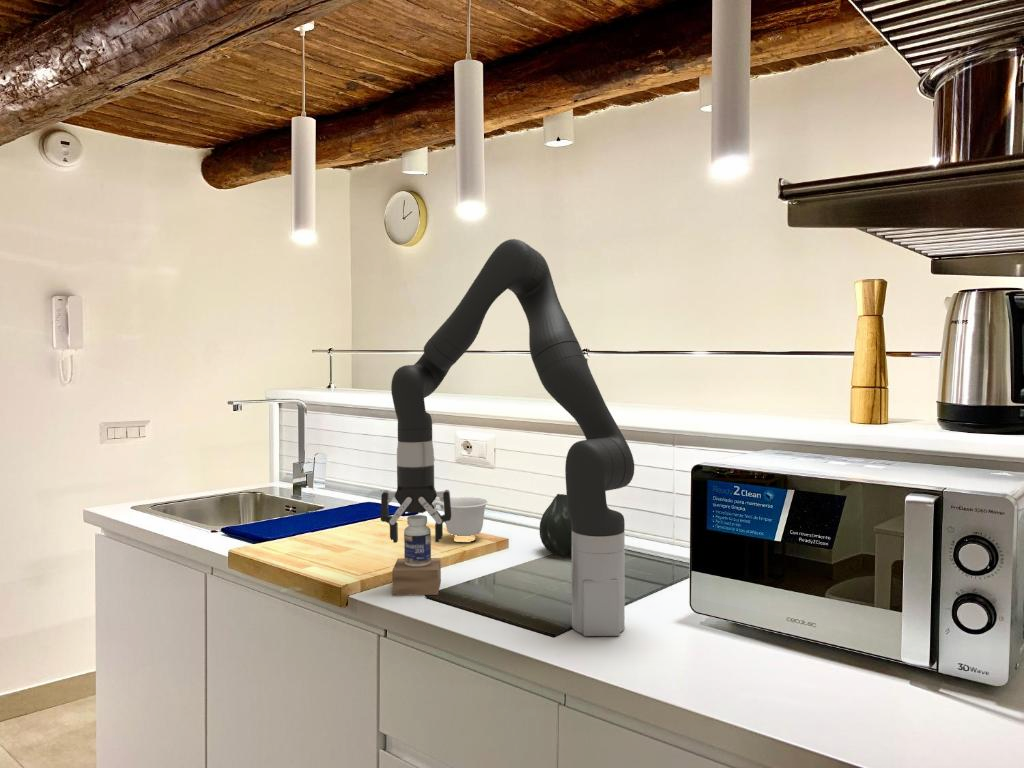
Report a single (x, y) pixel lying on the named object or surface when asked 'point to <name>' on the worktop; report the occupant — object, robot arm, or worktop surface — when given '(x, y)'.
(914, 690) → the worktop surface
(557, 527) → the squash
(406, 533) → the pill bottle
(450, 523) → the teacup
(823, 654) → the worktop surface
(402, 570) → the plinth
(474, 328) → the robot arm
